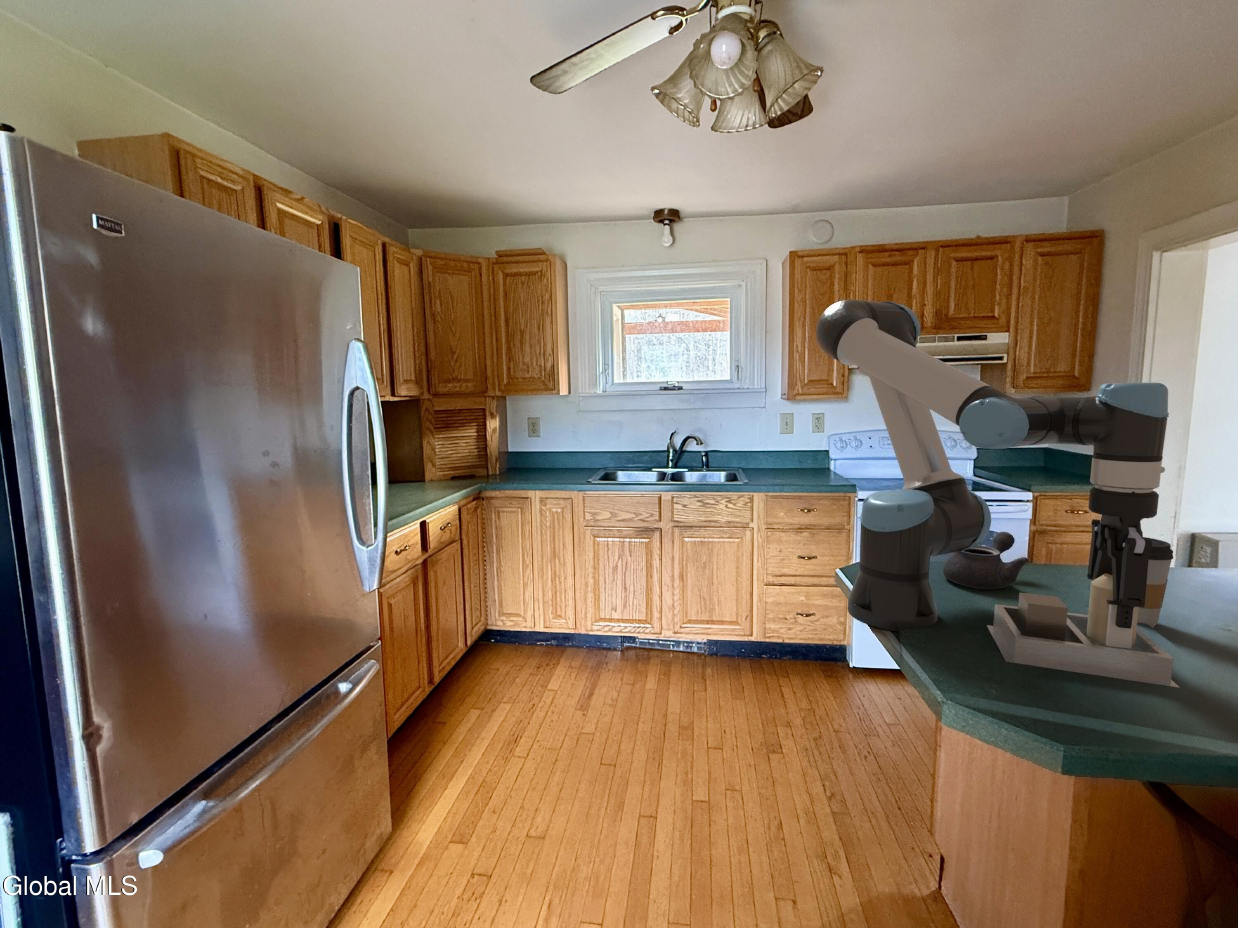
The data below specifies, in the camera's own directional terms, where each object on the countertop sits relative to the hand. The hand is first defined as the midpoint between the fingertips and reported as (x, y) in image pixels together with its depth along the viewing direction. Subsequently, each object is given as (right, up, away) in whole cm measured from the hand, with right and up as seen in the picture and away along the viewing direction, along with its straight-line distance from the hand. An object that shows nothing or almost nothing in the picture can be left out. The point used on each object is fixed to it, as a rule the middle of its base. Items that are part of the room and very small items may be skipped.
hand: (1109, 637), depth 83 cm
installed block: (-8, -3, +4) cm, 9 cm away
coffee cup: (+18, -2, +16) cm, 24 cm away
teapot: (+7, 0, +37) cm, 38 cm away
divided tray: (-4, -4, +2) cm, 6 cm away
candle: (0, -1, 0) cm, 1 cm away
